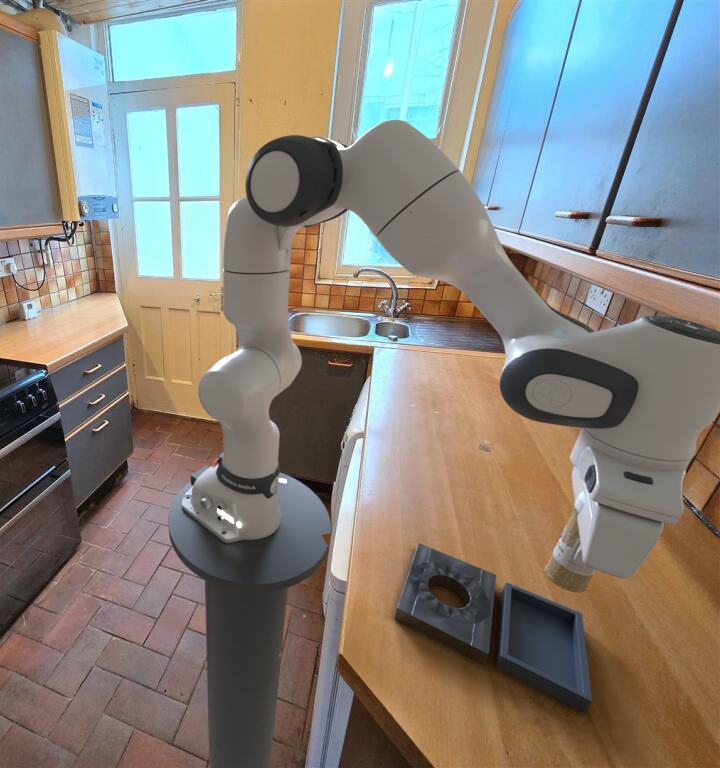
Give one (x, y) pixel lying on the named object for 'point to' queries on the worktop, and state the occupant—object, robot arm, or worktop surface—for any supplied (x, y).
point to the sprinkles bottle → (569, 557)
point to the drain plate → (443, 622)
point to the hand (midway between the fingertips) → (579, 548)
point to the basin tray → (544, 646)
